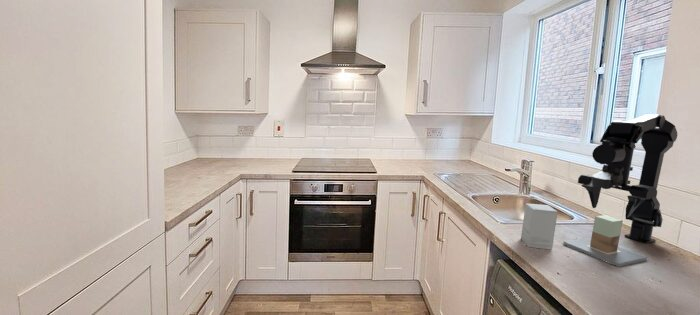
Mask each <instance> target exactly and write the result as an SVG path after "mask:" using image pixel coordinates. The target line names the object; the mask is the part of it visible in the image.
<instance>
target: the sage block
mask: <svg viewBox="0 0 700 315" xmlns="http://www.w3.org/2000/svg"><path fill="white" fill-rule="evenodd" d="M623 221H624V220H623V219H619V218H617V217H612V216H610V215H607V214H603V215H596V216H594V220H593V226H592V231H593V232H596V233H598V234H601V235H604V236H607V237H616V236H621V233H622V227H623V223H624V222H623Z"/></svg>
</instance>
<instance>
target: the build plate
mask: <svg viewBox="0 0 700 315" xmlns="http://www.w3.org/2000/svg"><path fill="white" fill-rule="evenodd" d="M591 237H592V236H589V237H582V238H576V239H571V240H563V243H562V245H564V246H566V245H567V246H566V247H568V246H569V248H571V249H573V248H574V249H573V250H576V249H577V250H576V251H578V250H579V252H581V253H583V252H584V253H583V254H585V253H587V254H586V255H588V254H589V255H588V256H590V255H592V256H591V257H593V256H594V257H593V258H595V257H597V258H599V259H598V260H600V259H602V260H604V261H603V262H605V261H607V262H609V263H608V264H610V263H611V264H610V265H612V264H613V265H612V266H614V265H616V266H615V267H617V266H618V267H617V268H619V266H620V267H624V266H627V265H632V264H636V263H640V262H644V261H647V258H648V257H647V256H645V255H642V254H639V253H638V252H635V251H634V252H633V251H631V250H629V249H626V248H622V247H620V246H618V249H617V251H615V252H610V253H606V252H603V251H601V250H598V249H595V248H593V247H590V243H591ZM597 258H596V259H597ZM602 260H601V261H602ZM607 262H606V263H607ZM623 265H624V266H623Z"/></svg>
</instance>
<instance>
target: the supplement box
mask: <svg viewBox="0 0 700 315" xmlns="http://www.w3.org/2000/svg"><path fill="white" fill-rule="evenodd" d="M557 218H558V211H557V210H556V209H554V208H553V207H552V206H550V205H548V204H540V203H539V204H537V203H527V202H526V203H525V206H524V213H523V220H522V227H521V233H520V234H521V235H520V239H521V240H522V242H523V243H524V244H525V245H526V246H527V248H528V247H529V248H535V249H544V250H553V245H554V240H555V239H554V238H555V232H556V225H557Z"/></svg>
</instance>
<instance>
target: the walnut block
mask: <svg viewBox="0 0 700 315" xmlns="http://www.w3.org/2000/svg"><path fill="white" fill-rule="evenodd" d="M620 236H621V235H620ZM620 236H616V237H607V236H604V235H601V234H598V233H596V232H593V230H592V232H591V236H590V237H591V243H590V247H593V248H595V249H598V250H601V251H603V252H606V253H610V252H615V251H617V249H618V247H619V243H620Z"/></svg>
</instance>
